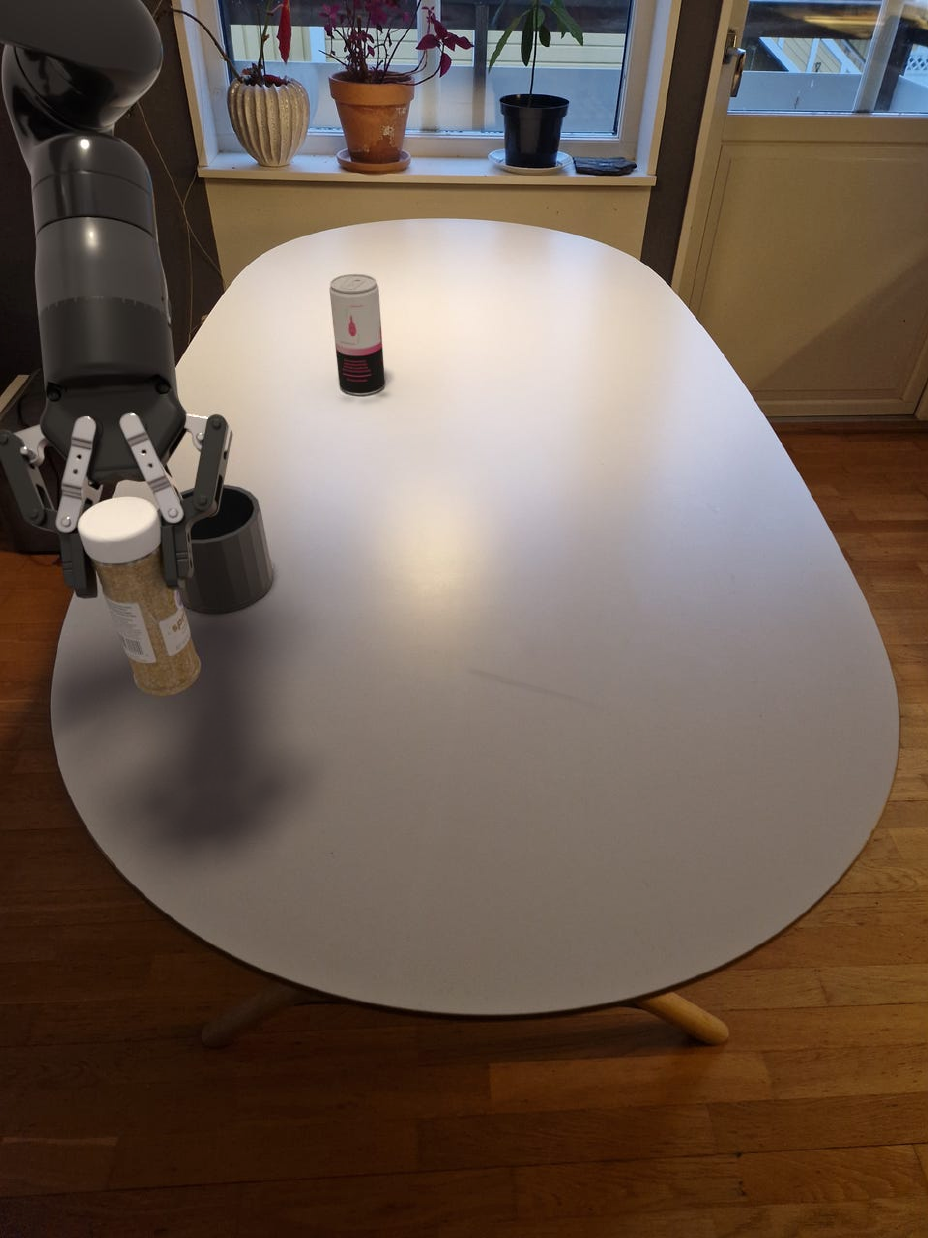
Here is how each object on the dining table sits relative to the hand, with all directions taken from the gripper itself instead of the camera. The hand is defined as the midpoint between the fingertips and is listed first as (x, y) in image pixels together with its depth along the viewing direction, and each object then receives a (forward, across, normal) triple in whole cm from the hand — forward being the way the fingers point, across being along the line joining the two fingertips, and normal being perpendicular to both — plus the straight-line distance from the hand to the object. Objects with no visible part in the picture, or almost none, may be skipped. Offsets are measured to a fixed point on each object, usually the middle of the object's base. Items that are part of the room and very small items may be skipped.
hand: (132, 591), depth 52 cm
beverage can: (-34, +18, +70) cm, 80 cm away
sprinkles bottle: (+5, 0, +8) cm, 9 cm away
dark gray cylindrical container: (-5, 0, +40) cm, 40 cm away
